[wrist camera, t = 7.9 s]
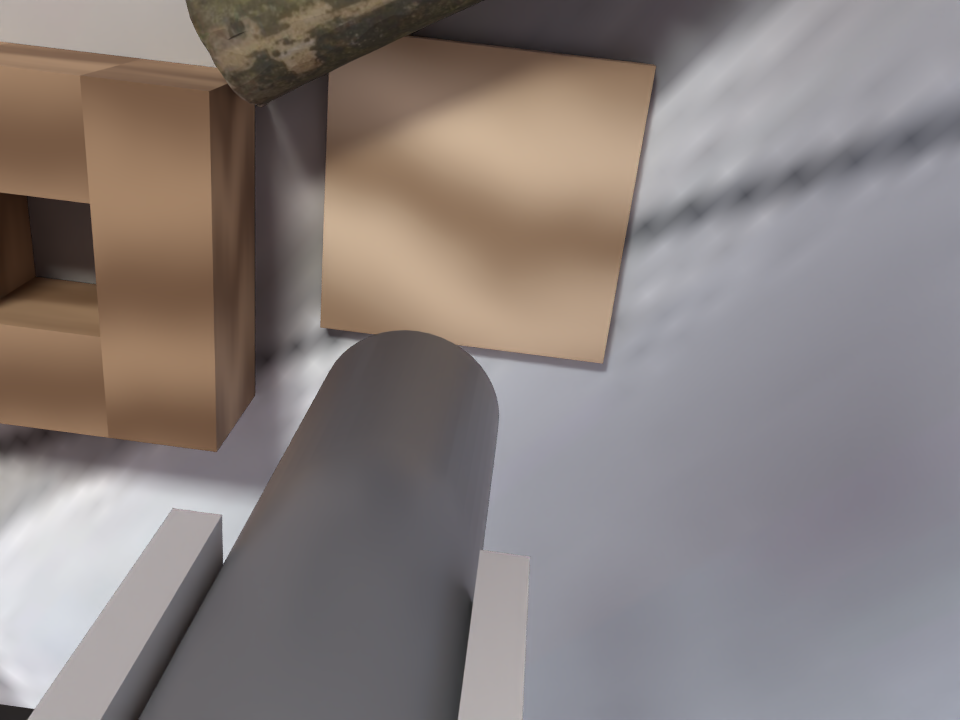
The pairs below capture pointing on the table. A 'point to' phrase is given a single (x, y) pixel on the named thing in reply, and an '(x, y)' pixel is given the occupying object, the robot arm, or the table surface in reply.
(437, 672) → the plug
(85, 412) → the socket block
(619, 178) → the light brown wooden board
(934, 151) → the table surface
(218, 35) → the brown lumpy club
